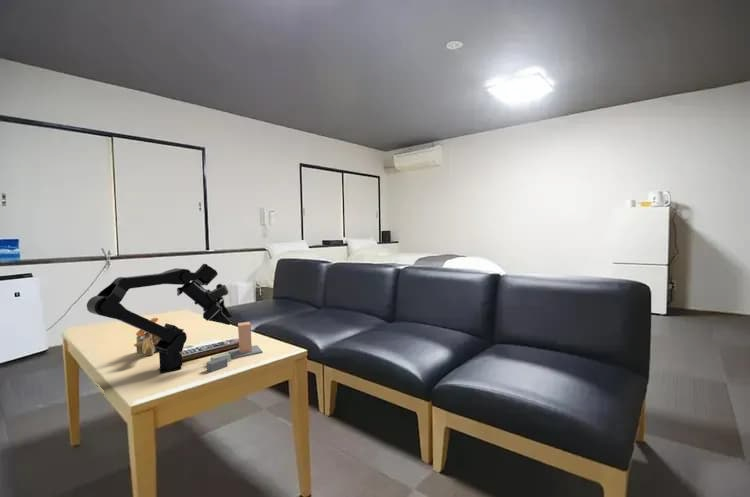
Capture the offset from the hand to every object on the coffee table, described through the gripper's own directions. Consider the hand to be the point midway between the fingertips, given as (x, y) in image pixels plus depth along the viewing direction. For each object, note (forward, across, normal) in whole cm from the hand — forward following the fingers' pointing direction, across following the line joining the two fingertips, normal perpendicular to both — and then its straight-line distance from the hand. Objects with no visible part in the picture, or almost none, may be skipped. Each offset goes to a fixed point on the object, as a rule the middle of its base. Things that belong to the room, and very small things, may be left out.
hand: (230, 320), depth 138 cm
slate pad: (+13, -1, +6) cm, 14 cm away
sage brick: (+7, -9, +12) cm, 16 cm away
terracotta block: (+13, -1, +5) cm, 14 cm away
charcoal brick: (+7, -14, +12) cm, 20 cm away
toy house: (-10, +12, +33) cm, 36 cm away
